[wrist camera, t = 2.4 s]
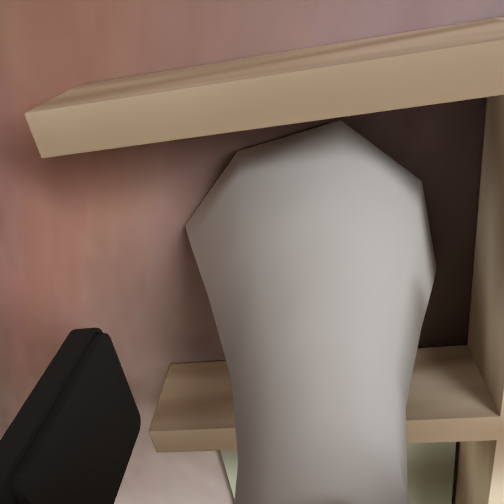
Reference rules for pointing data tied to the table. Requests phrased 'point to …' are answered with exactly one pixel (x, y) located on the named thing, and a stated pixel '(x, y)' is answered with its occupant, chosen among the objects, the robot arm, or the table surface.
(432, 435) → the comb rack
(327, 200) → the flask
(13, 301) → the table surface
